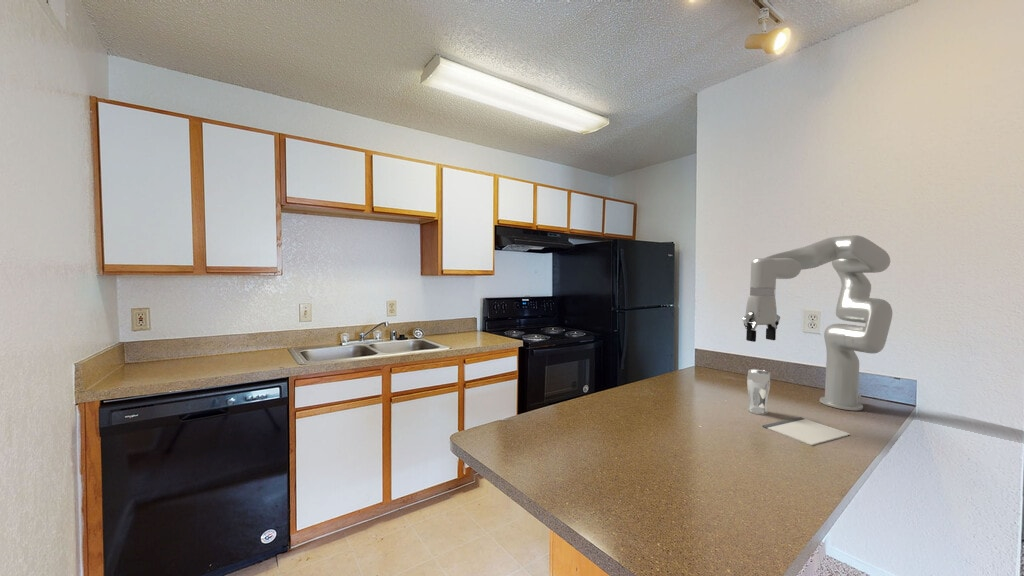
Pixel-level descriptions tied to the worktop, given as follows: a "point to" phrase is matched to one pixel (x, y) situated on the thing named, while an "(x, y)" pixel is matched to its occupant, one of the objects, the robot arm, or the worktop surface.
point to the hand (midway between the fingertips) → (760, 340)
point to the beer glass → (758, 390)
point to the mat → (806, 431)
